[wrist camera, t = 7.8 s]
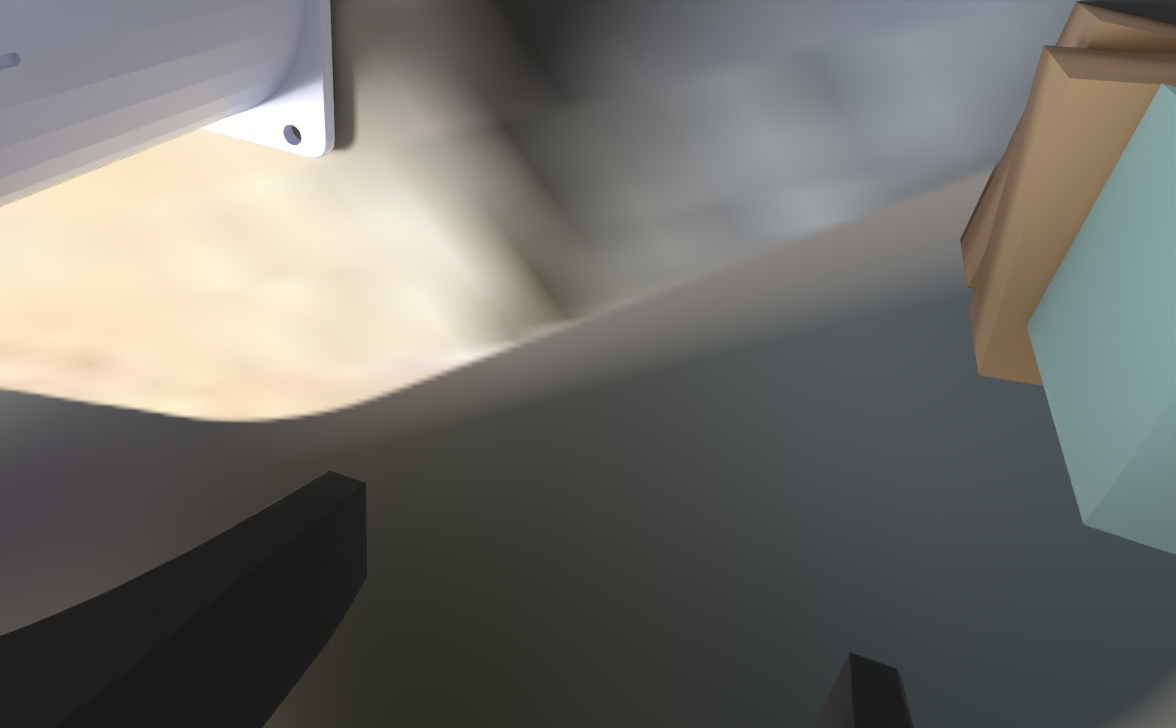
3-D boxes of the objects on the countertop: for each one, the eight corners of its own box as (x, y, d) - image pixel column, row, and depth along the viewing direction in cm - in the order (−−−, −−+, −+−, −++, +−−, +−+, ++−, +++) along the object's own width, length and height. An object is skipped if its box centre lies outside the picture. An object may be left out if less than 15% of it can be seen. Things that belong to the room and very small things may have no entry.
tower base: (959, 239, 18) (968, 287, 16) (1074, -2, 15) (1100, 20, 13) (1199, 307, 17) (1240, 366, 15) (1366, 66, 15) (1441, 100, 13)
